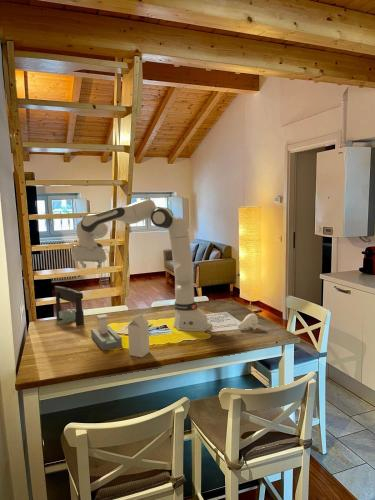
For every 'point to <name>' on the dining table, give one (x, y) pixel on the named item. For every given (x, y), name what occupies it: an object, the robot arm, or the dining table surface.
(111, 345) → the switch panel
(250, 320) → the white rounded lump
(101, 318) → the switch knob
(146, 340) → the milk carton
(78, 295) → the stool
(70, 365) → the dining table surface
